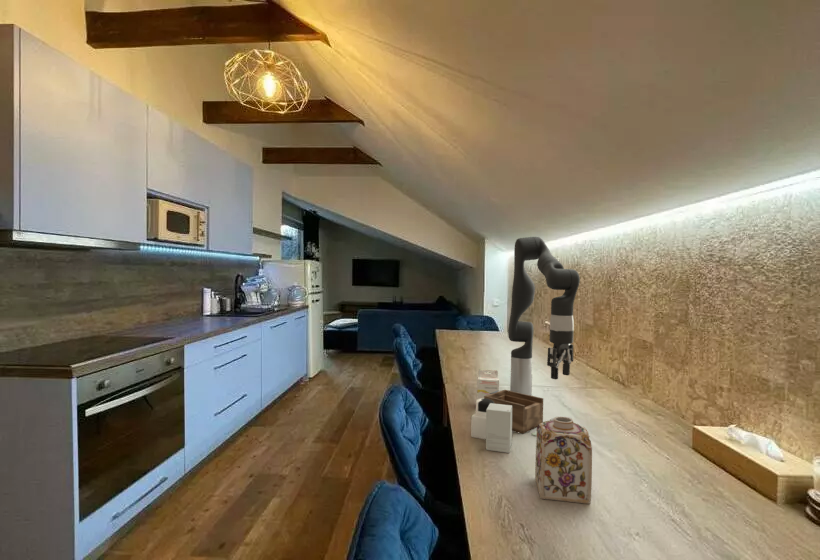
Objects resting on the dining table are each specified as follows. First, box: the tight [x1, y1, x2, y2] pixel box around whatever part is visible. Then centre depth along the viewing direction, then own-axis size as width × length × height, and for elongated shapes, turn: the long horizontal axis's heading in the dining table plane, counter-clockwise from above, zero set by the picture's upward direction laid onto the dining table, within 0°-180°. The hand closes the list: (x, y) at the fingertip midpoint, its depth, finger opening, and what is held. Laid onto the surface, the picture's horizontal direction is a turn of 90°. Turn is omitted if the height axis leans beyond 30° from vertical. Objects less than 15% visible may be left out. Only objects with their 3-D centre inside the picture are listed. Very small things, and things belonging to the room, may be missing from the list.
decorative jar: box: [534, 416, 593, 505], centre depth 109 cm, size 12×12×18 cm
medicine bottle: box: [470, 398, 494, 440], centre depth 145 cm, size 7×7×12 cm
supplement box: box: [485, 403, 513, 454], centre depth 135 cm, size 7×7×13 cm
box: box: [484, 389, 544, 435], centre depth 158 cm, size 14×16×10 cm
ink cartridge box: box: [476, 369, 500, 400], centre depth 178 cm, size 9×5×15 cm, turn 84°
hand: (560, 376), depth 146 cm, fingers open, 8 cm apart
